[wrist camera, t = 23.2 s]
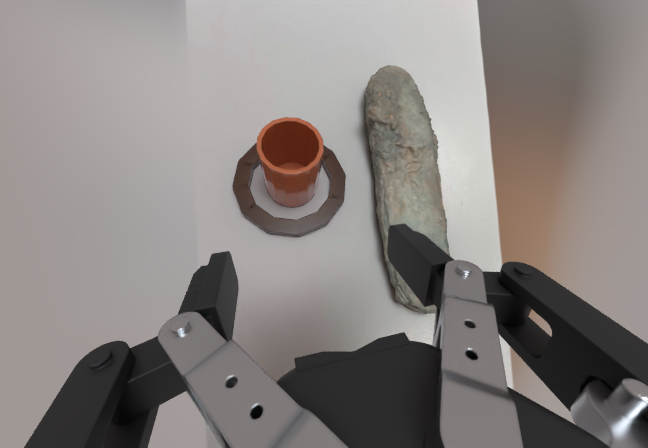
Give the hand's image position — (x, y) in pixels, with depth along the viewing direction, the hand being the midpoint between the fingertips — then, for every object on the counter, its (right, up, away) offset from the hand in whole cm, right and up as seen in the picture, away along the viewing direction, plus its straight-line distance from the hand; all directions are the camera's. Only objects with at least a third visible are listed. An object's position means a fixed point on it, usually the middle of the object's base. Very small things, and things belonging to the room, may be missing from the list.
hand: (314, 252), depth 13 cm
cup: (-4, +7, +20) cm, 21 cm away
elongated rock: (+11, +8, +22) cm, 26 cm away
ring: (-4, +7, +20) cm, 21 cm away
